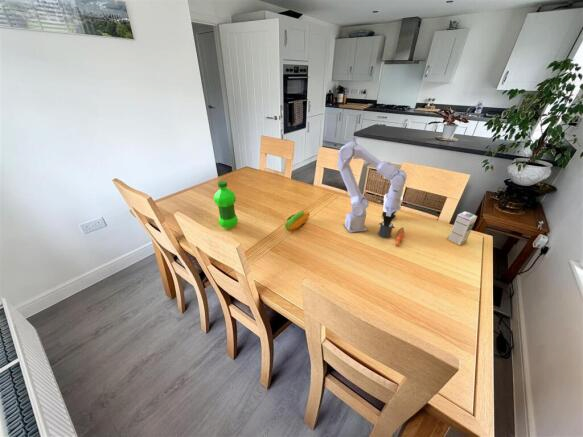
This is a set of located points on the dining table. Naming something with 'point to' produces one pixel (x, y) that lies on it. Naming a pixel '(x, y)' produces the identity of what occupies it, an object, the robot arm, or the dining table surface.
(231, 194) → the plastic bottle
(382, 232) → the mug
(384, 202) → the foam cup
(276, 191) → the dining table surface
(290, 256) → the dining table surface
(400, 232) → the carrot
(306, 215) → the hot dog
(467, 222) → the syrup box
